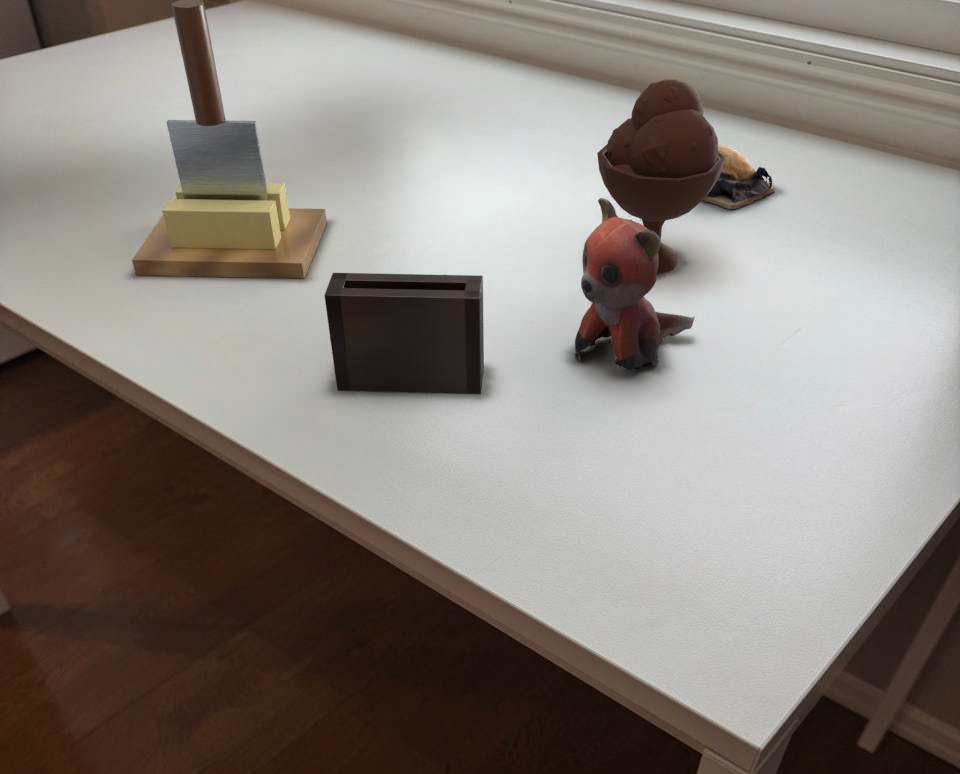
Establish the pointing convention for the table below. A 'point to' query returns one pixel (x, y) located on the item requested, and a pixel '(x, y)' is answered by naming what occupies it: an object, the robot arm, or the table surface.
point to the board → (236, 253)
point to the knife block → (406, 332)
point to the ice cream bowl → (662, 159)
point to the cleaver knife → (211, 124)
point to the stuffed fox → (624, 292)
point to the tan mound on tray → (738, 182)
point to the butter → (227, 221)
